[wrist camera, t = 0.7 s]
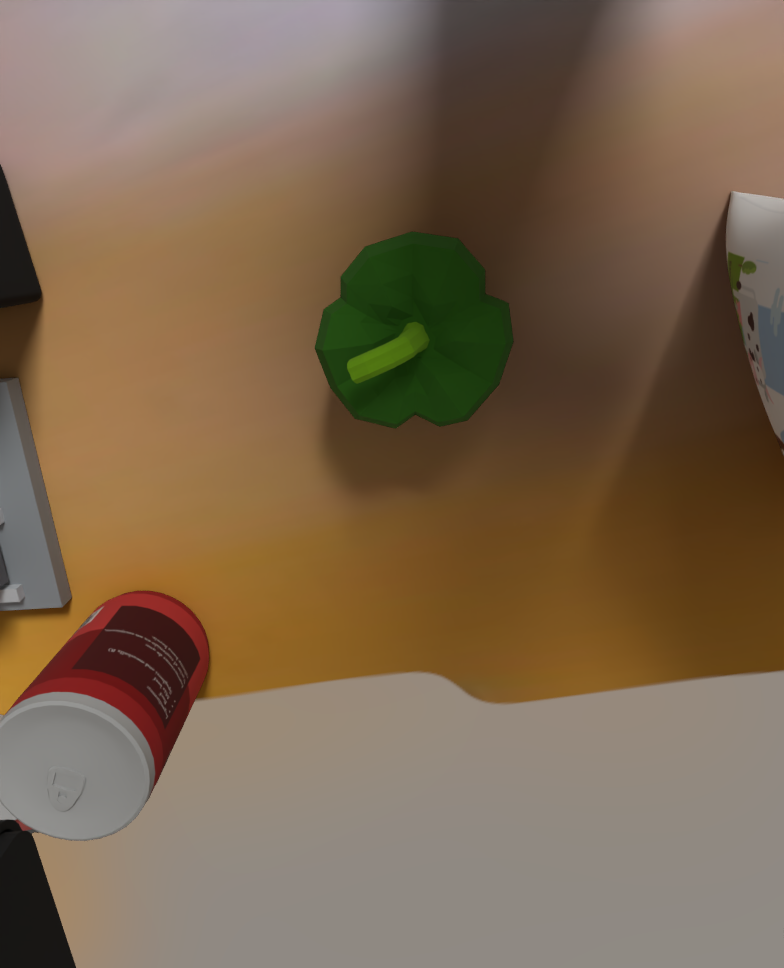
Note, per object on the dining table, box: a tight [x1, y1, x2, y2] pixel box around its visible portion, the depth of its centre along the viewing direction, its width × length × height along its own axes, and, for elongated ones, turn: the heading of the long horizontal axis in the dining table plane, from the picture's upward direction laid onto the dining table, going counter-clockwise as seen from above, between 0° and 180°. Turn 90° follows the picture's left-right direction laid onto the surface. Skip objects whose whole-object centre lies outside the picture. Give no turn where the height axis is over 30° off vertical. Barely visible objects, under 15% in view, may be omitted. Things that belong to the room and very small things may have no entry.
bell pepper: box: [315, 232, 513, 429], centre depth 32 cm, size 8×8×10 cm
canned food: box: [0, 591, 209, 841], centre depth 38 cm, size 8×8×11 cm
